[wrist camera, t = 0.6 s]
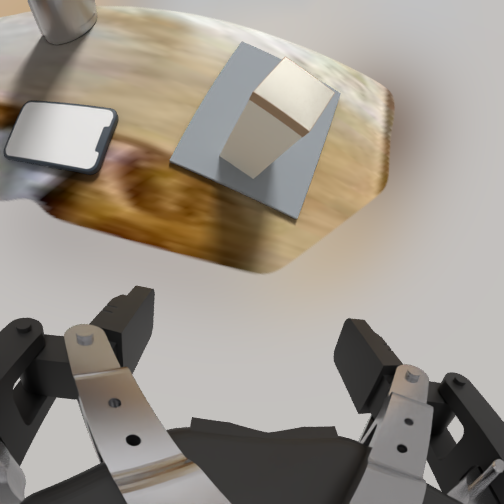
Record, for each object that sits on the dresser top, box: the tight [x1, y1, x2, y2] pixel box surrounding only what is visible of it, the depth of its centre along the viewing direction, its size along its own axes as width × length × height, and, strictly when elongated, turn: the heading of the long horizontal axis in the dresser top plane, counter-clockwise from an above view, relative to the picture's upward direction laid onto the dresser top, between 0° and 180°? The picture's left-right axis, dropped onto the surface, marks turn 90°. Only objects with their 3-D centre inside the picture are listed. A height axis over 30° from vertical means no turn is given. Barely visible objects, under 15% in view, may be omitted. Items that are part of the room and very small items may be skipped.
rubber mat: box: [170, 42, 341, 219], centre depth 35 cm, size 17×22×1 cm
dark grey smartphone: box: [4, 101, 118, 175], centre depth 27 cm, size 9×2×16 cm
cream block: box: [219, 57, 335, 179], centre depth 27 cm, size 5×5×15 cm
